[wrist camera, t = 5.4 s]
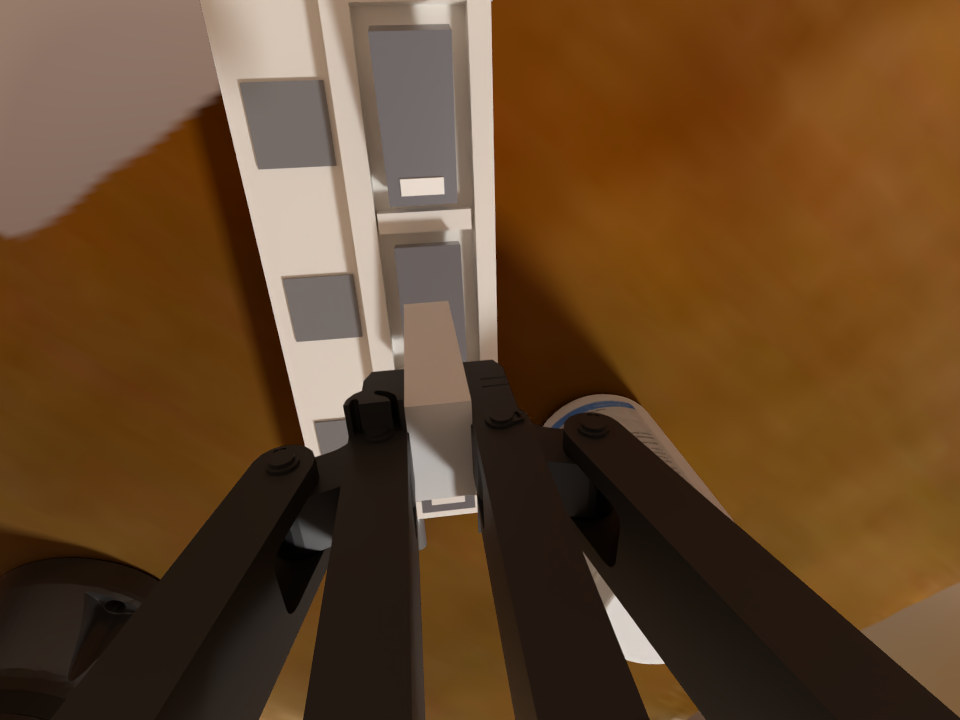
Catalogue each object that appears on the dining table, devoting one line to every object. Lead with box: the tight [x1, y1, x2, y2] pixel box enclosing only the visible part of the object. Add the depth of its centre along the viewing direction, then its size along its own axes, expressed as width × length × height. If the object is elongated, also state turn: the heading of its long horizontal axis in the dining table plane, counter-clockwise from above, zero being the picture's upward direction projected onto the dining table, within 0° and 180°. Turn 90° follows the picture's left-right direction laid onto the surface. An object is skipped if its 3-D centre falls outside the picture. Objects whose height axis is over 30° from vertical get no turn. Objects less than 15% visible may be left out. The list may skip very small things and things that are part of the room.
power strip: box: [199, 0, 498, 550], centre depth 30 cm, size 12×36×5 cm, turn 2°
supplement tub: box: [543, 394, 735, 664], centre depth 33 cm, size 10×10×15 cm
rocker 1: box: [368, 24, 458, 207], centre depth 22 cm, size 3×7×2 cm, turn 2°
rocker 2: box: [394, 241, 467, 362], centre depth 26 cm, size 3×7×2 cm, turn 2°
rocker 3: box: [421, 494, 475, 513], centre depth 30 cm, size 3×7×2 cm, turn 2°
